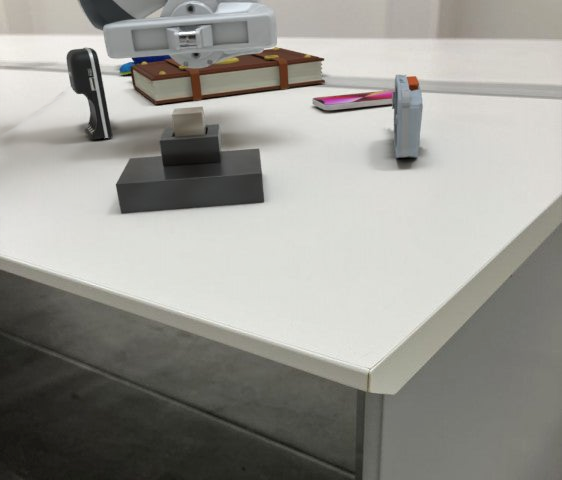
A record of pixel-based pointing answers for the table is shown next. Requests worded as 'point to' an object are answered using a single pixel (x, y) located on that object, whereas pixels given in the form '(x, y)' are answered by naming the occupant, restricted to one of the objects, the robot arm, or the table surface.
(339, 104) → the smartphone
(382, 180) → the table surface
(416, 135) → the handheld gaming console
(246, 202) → the grey stepped pedestal
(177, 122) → the beige cube
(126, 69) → the plush toy
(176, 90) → the book
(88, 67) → the black curved upright piece
